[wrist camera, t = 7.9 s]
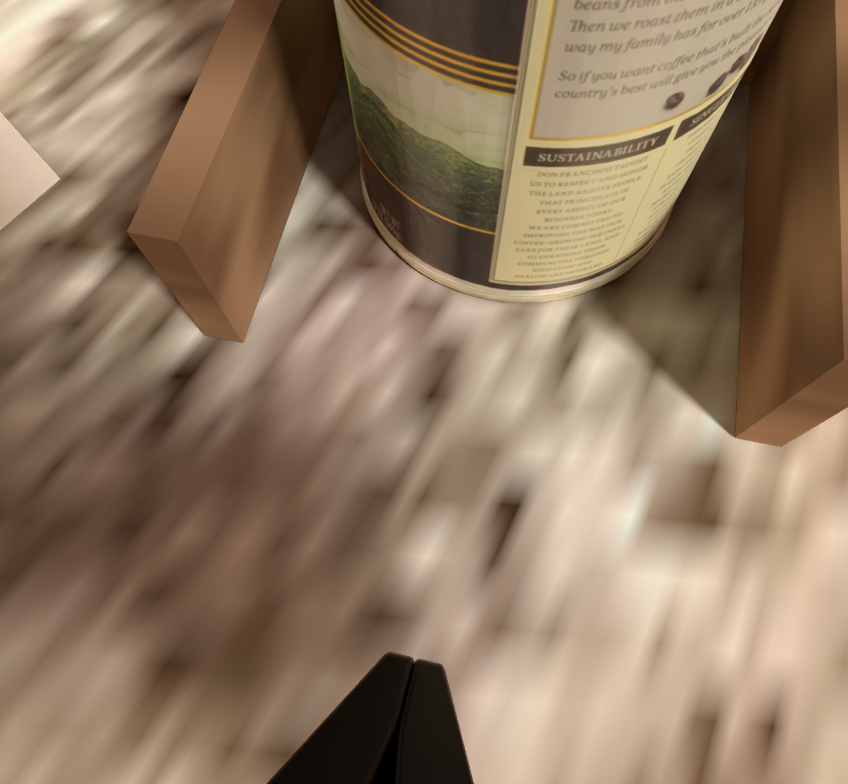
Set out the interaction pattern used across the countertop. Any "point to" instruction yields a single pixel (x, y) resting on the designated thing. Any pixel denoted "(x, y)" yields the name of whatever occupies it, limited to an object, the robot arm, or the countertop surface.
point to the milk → (20, 173)
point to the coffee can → (536, 129)
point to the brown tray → (304, 113)
